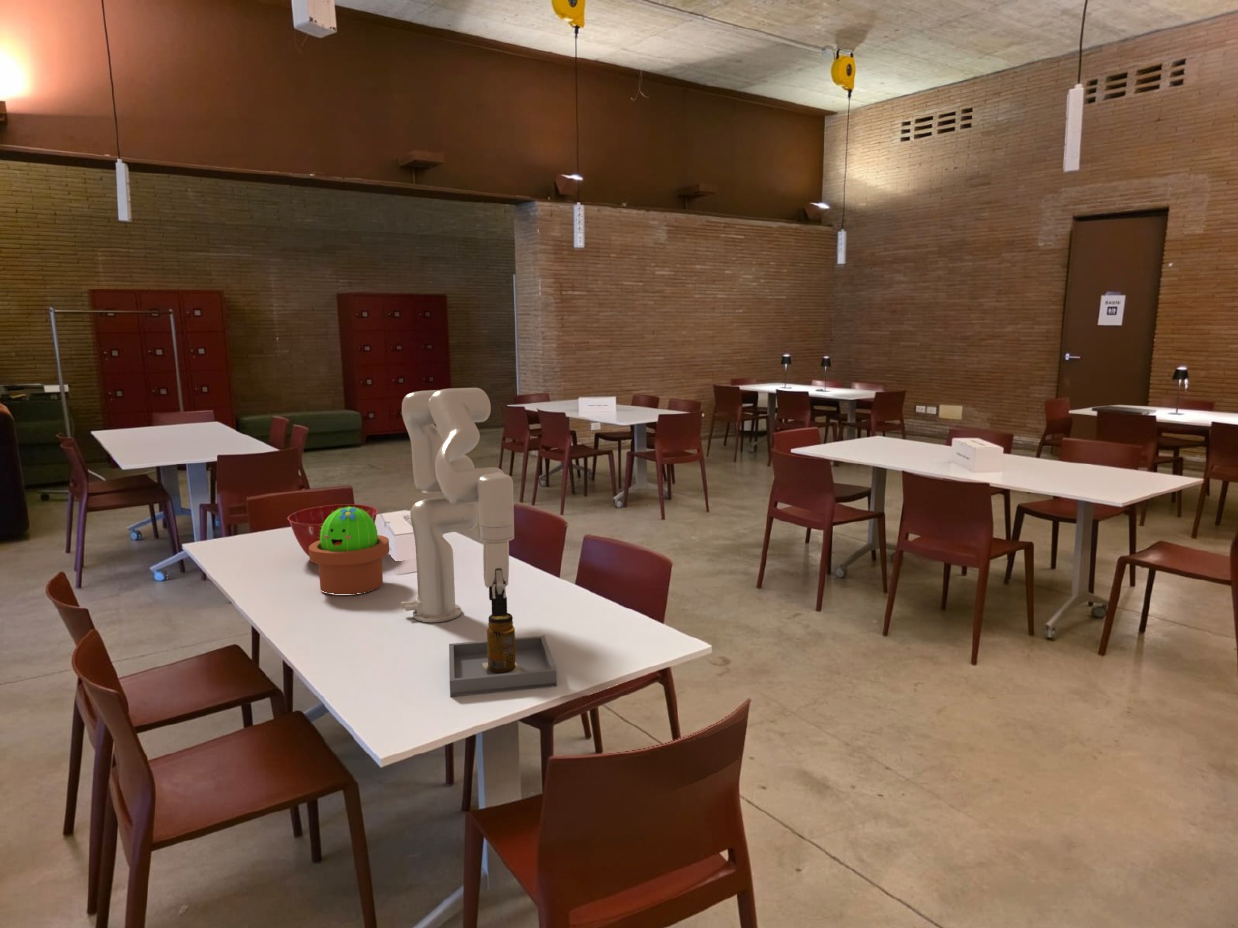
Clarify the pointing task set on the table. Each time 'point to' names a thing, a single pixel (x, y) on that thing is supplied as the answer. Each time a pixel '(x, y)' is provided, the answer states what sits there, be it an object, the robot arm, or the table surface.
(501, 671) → the condiment
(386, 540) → the potted cactus
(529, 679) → the tray
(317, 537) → the mixing bowl
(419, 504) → the robot arm
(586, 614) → the table surface
